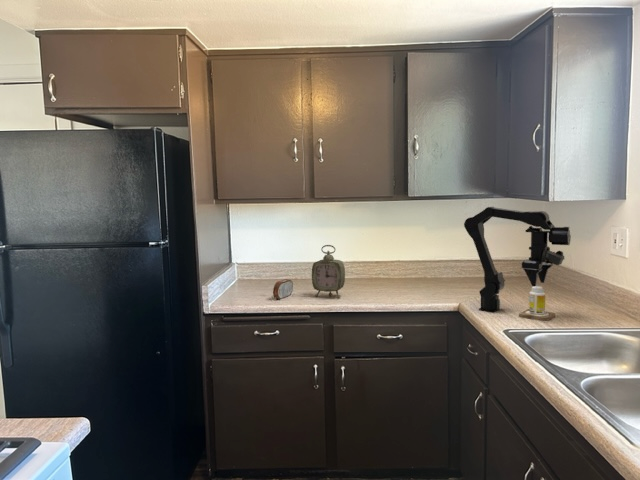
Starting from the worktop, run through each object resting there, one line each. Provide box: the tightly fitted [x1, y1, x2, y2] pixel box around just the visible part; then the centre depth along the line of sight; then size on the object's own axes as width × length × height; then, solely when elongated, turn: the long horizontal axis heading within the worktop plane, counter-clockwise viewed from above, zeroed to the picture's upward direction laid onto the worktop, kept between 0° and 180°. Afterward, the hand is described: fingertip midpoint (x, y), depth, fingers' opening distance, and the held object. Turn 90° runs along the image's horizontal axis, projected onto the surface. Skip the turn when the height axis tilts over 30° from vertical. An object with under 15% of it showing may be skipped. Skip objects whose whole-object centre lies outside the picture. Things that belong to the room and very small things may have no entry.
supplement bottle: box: [528, 285, 546, 315], centre depth 174 cm, size 6×6×10 cm
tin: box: [272, 278, 294, 300], centre depth 217 cm, size 15×3×8 cm, turn 154°
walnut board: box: [518, 308, 556, 322], centre depth 175 cm, size 10×10×1 cm
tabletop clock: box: [311, 244, 346, 299], centre depth 215 cm, size 14×9×25 cm, turn 72°
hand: (538, 284), depth 174 cm, fingers open, 9 cm apart
